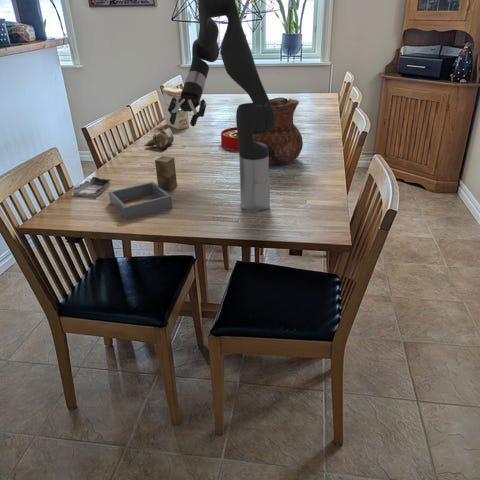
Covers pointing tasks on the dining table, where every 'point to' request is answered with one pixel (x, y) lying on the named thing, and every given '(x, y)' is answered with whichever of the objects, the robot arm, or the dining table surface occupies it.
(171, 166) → the walnut block
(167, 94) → the coffeecake box
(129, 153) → the dining table surface
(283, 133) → the jug
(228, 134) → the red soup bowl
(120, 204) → the box
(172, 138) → the ceramic sculpture
